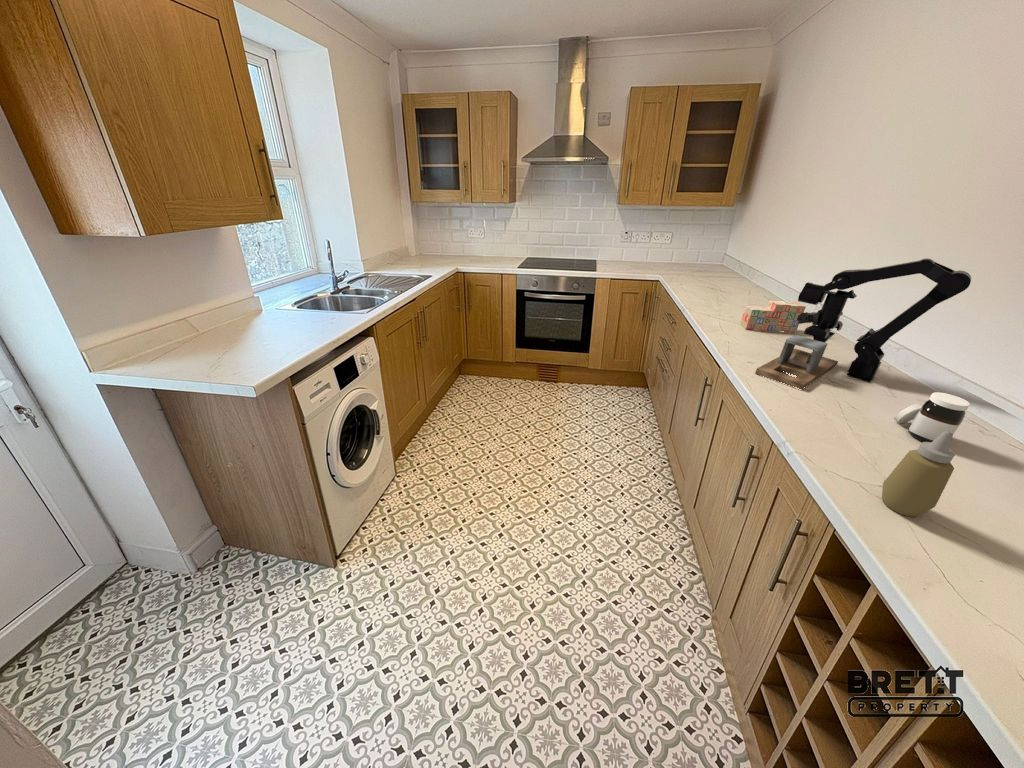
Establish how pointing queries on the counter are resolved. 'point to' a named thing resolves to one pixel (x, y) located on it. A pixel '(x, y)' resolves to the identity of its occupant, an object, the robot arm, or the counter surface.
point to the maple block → (803, 356)
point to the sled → (798, 362)
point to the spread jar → (934, 416)
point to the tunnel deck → (804, 375)
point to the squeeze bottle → (920, 477)
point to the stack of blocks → (773, 317)
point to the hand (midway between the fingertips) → (814, 350)
